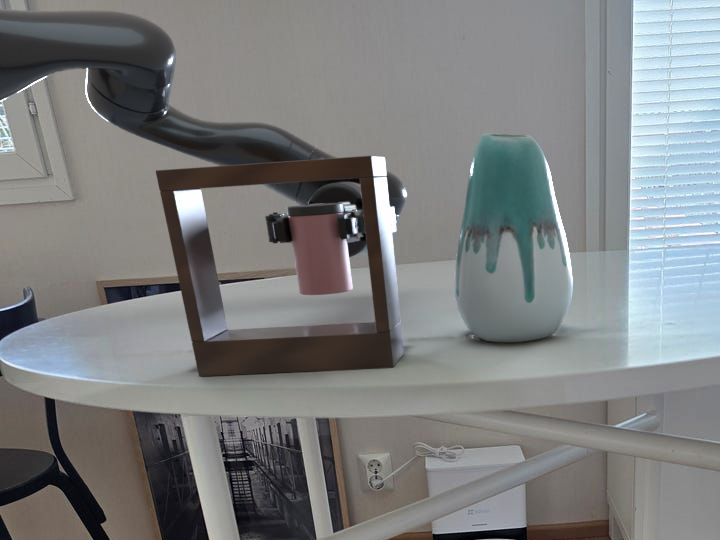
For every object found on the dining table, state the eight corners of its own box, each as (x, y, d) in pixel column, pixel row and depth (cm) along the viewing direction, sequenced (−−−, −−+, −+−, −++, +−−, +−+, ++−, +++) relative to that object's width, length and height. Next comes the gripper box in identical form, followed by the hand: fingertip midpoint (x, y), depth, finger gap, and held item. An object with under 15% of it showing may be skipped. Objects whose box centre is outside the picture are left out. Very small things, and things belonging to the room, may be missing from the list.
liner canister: (293, 296, 86) (279, 208, 82) (306, 289, 91) (294, 205, 87) (347, 293, 86) (336, 204, 82) (358, 286, 91) (347, 202, 87)
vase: (593, 338, 83) (594, 124, 74) (483, 353, 80) (471, 130, 71) (542, 323, 93) (538, 132, 84) (442, 336, 89) (427, 138, 81)
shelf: (198, 376, 78) (154, 170, 70) (222, 362, 83) (184, 170, 75) (393, 367, 76) (371, 155, 68) (404, 353, 82) (384, 156, 74)
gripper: (280, 186, 97) (232, 190, 82) (405, 177, 95) (379, 180, 81) (291, 258, 100) (247, 274, 86) (411, 251, 99) (388, 266, 84)
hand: (311, 229), depth 83 cm, fingers closed on liner canister, 5 cm apart
